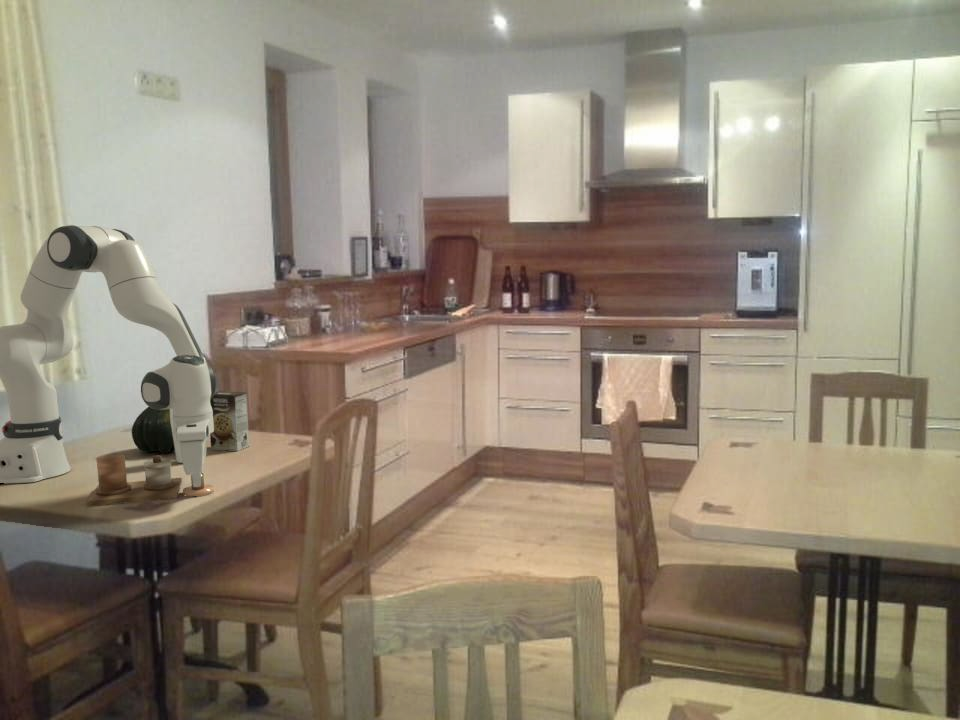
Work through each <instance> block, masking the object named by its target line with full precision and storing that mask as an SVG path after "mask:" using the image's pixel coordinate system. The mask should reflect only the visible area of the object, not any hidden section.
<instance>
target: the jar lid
mask: <svg viewBox="0 0 960 720" xmlns="http://www.w3.org/2000/svg"><path fill="white" fill-rule="evenodd" d="M204 479H205V477H204V473H203V472H202V473H201V486H200V487H193V481H192V476H191V475H190V480H191V486H186V487H185V488H183V489H182V494H184V495H186V496H185V497H187V496H200V497H205V496H209V495H211V494H213V493H214V492H215V491H214V490H215V489H214V486H213V485H211V484H205V480H204ZM184 495H183V496H184ZM204 495H205V496H204Z"/></svg>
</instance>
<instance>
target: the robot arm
mask: <svg viewBox="0 0 960 720" xmlns="http://www.w3.org/2000/svg"><path fill="white" fill-rule="evenodd" d="M82 273H102V274H103V277H104V278H105V280H106V285H107V287H108V288H107V289H108V291H109V294H110V298H111V302H112V304H113V306H114V308H115V310H116V311H117V312H118V314H120V315H121V317H123V318H124V319H125V320H128V321H130V322H132V323H136V324H138V325H143V326H146V327H150V328H153V329H155V330H157V331H159V332H160V333H162V334H163V335H164V336H165V337H166V338H167V339H168V341H169V343H170V344H171V346H172V348H173V350H174V352H175V354H176V356H174V357H172V358H171V359H170V360H169V361H170V362H169V363H167V364H165V365H164V366H162V367H160V368H157V369H154V370H152V371H149V372H147V373H146V374H145V375H144V376H143V378H142V380H141V384H140V395H141V398H142V400H143V401H144V403H145V405H146V406H147V407H150V408H152V409H154V410H165V409H172V410H173V427H174V435H175V436H176V439H177V441H180V449H181V455H182V461H183V463H182V467H183V471H184V472H185V475H186V476H188V475H190V477H191V476H192V481H193V487H200V486H201V473H203V469H204V465H205V461H206V458H207V457H206V456H207V441H208V440H210V433H212V432H214V423H213V410H212V407H211V404H210V400H211V399H212V398H213V396H214V394H215V392H217V388H218V384H219V383H218V378H217V375H216V373H215V371H214V370H213V368H212V367H211V365H210V364H209V363H208V361H207V359H206V358H205V356H204V354H203V352H202V350H201V348H200V346H199V344H198V342H197V340H196V338H195V336H194V333H193V332H192V330H191V327H190V326H189V324H188V321H187V320H186V318H185V316H184V314H183V312H182V311H181V309H180V308H179V306H178V305H177V304H175V303H173V302H172V300H171V299H169V298H168V297H167V295H166V294H165V293H164V291H163V290H162V288H161V286H160V283H159V281H158V278H157V275H156V273H155V270H154V267H153V265H152V262H151V261H150V258H149V257H148V254H147V253H146V251H145V249H144V248H143V246H142V244H140V243H139V242H138V241H136V240H135V238H134V237H133V236H132V235H130V234H129V233H128V232H125V231H124V230H121V229H117V228H108V227H102V226H96V225H91V226H89V225H88V226H87V225H85V226H84V225H81V226H80V225H79V226H77V225H73V224H72V225H71V224H70V225H69V224H68V225H63V226H60V227H56V228H55V229H54V230H52V232H50V234H49V236H48V238H47V239H46V240H45V241H44V242H43V243H42V246H41V247H40V249H38V252H37V254H36V255H35V257H34V260H33V262H32V264H31V266H30V269H29V271H28V275H27V277H26V279H25V282H24V284H23V285H24V286H23V288H22V290H21V293H20V301H21V303H22V305H23V306H24V308H25V309H26V311H27V315H26V319H25V320H24V321H23V322H22V323H18V324H11V325H4V326H0V380H1V383H2V384H3V386H4V389H5V392H6V395H7V401H8V408H9V409H8V410H9V415H10V420H8V421H6V422H5V423H4V425H3V426H2V428H1V433H3V438H2V439H0V483H4V484H22V483H24V484H25V483H35V482H38V481H42V480H44V479H49V478H54V477H58V476H61V475H63V474H66V473H68V472H70V471H71V470H72V468H71V465H70V463H69V460H68V458H67V455H66V451H65V448H64V447H65V446H64V442H63V436H64V429H63V423H62V418H61V416H60V414H59V412H60V411H59V404H58V403H59V402H58V394H57V393H58V391H57V389H56V386H54V384H53V383H51V382H49V381H47V379H46V378H44V376H43V373H42V371H41V368H40V366H41V365H45V364H50V363H54V362H56V361H59V360H60V359H63V358H64V357H66V356H68V355H69V354H70V353H71V352H72V349H73V347H74V337H73V334H72V331H71V330H70V329H69V327H68V325H67V323H68V322H67V320H68V319H67V317H68V312H69V308H70V305H71V303H72V300H73V297H74V294H75V291H76V289H77V286H78V284H79V282H80V279H81V276H82Z"/></svg>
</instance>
